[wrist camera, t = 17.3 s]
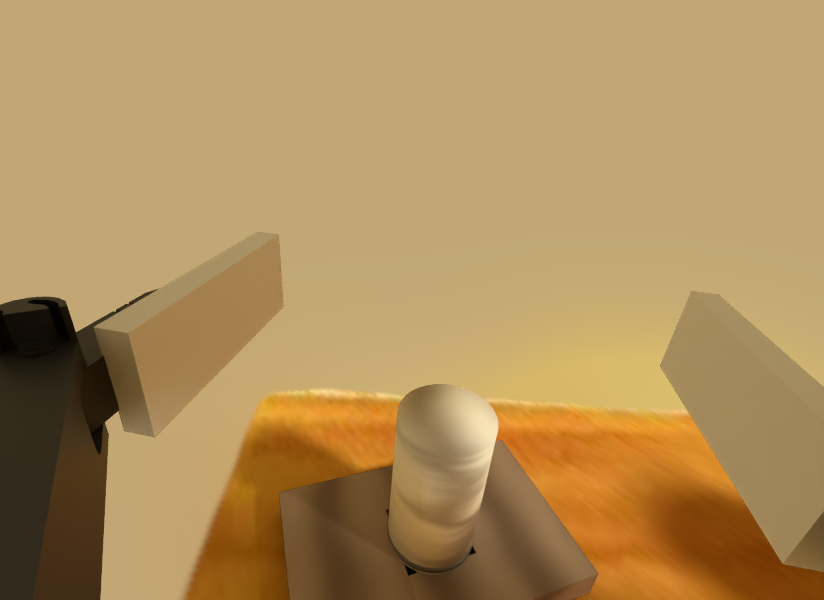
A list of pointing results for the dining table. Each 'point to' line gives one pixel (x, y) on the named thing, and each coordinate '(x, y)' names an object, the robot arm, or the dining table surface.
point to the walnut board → (423, 593)
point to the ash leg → (439, 475)
